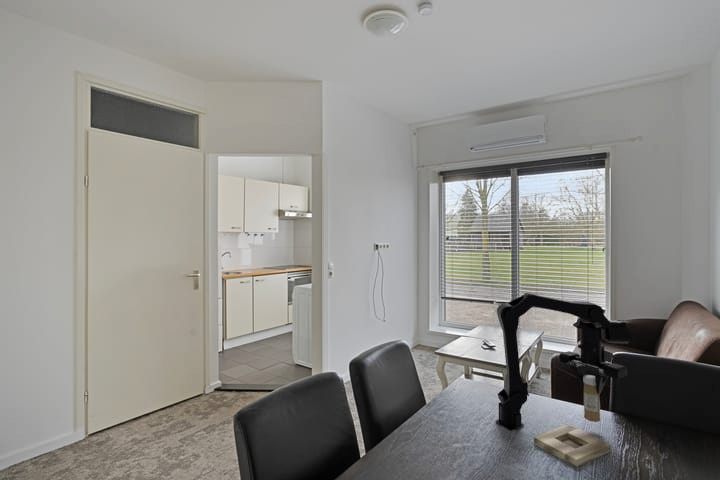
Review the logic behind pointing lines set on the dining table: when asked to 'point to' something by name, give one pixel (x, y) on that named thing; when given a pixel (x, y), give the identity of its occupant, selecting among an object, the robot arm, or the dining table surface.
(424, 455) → the dining table surface
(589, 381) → the sprinkles bottle
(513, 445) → the dining table surface
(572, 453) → the socket block
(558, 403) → the dining table surface
